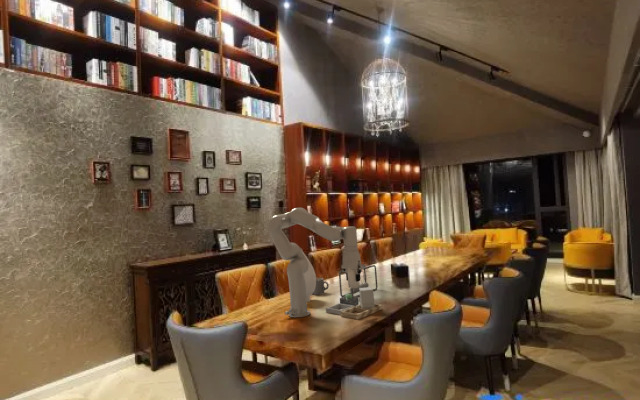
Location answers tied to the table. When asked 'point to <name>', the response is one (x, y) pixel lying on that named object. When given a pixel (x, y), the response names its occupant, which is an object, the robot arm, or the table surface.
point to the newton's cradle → (365, 285)
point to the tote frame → (334, 308)
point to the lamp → (309, 280)
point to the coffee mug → (320, 286)
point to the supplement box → (366, 298)
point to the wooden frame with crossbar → (360, 311)
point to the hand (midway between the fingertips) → (353, 280)
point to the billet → (352, 279)
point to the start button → (348, 296)
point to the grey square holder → (349, 301)
